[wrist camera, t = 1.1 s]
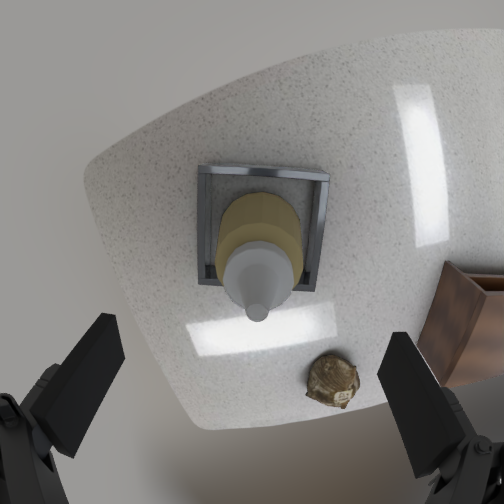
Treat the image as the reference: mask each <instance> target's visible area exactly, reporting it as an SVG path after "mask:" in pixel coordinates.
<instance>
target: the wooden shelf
mask: <svg viewBox="0 0 504 504" xmlns="http://www.w3.org/2000/svg"><path fill="white" fill-rule="evenodd" d="M417 347H418V349H419V350H420V352H421V353H422V355H423V357H424V358H425V360H426V362H427V363H428V365H429V367H430V368H431V370H432V372H433V374H434V375H435V377H436V379H437V380H438V382H439V383H440V385H441V387H447V388H451V387H456V386H461V385H465V384H470V383H473V382H478V381H482V380H486V379H489V378H493V377H497V376H500V375H504V275H488V274H465V273H463V272H462V271H461V270H460V269H459V268H457V267H456V266H455V265H454V264H452V263H451V262H450V261H445V264H444V267H443V271H442V274H441V278H440V281H439V284H438V287H437V291H436V294H435V297H434V300H433V303H432V306H431V309H430V311H429V314H428V317H427V320H426V322H425V325H424V328H423V330H422V333H421V335H420V338H419V340H418V343H417Z"/></svg>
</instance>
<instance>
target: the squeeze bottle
mask: <svg viewBox="0 0 504 504" xmlns="http://www.w3.org/2000/svg"><path fill="white" fill-rule="evenodd" d="M215 267H216V272H217V277H218V279H219V281H220V282H221V284H222V285H223V286H224V288H225V292H226V293H227V295H228V296H229V297H230V299H231V300H232V302H234V303H235V304H237V305H238V306H240V307H241V308H243V309H245V311H246V314H247V317H248V318H249V319H250V320H252V321H255V322H260V321H263V320H264V319H265V318H266V317H267V315H268V313H269V310H271V309H273V308H276V307H278V306H280V305H281V304H282V303H283V302H284V301H285V300H286V299H287V298H288V297H289V296H290V294H291V291H292V289H293V288H294V287H295V286H296V285H297V284H298V282H299V279H300V276H301V274H302V271H303V254H302V239H301V227H300V219H299V218H298V216H297V214H296V212H295V210H294V209H293V207H292V206H291V205H290V204H289V203H287V202H286V201H285V200H284V199H282V198H281V197H280V196H277V195H273V194H270V193H266V192H257V193H250V194H245V195H244V196H242V197H240V198H239V199H237V200H235V201H233V202H232V203H231V205H230V206H229V207H228V209H227V210H226V211H225V213H224V214H223V216H222V220H221V225H220V229H219V235H218V242H217V249H216V256H215Z"/></svg>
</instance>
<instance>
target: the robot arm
mask: <svg viewBox="0 0 504 504" xmlns="http://www.w3.org/2000/svg"><path fill="white" fill-rule="evenodd" d="M124 360H125V356H124V352H123V348H122V344H121V339H120V334H119V330H118V325H117V321H116V316H115V315H113V314H107V313H101V315H100V316H99V317H98V318H97V319H96V321H95V322H94V323H93V324H92V326H91V327H90V328H89V329H88V331H87V332H86V333H85V335H84V336H83V337H82V338H81V340H80V341H79V342H78V343H77V345H76V346H75V347H74V348H73V350H72V351H71V352H70V354H69V355H68V356H67V357H66V359H65V360H64V361H63V363H62V364H61V365H59V364H56V363H55V364H53V365H52V366H51V367H49V368H47V369H46V370H45V372H44V373H43V374H42V376H41V377H40V379H38V381H37V382H36V383H35V385H34V386H33V388H32V389H31V390H30V392H29V393H28V394H27V396H26V397H25V398H24V400H23V401H22V403H21V404H20V406H19V405H18V404H17V402H16V401H15V399H14V398H13V397H12V396H11V395H10V394H7V393H1V394H0V504H69V502H68V500H67V497H66V495H65V492H64V489H63V487H62V484H61V481H60V478H59V475H58V472H57V468H56V465H55V462H54V458H53V455H52V453H51V451H50V449H51V447H52V445H53V446H54V447H55V448H56V450H57V451H58V452H60V453H61V454H64V455H66V456H68V457H71V458H74V456H75V454H76V452H77V450H78V448H79V446H80V444H81V442H82V440H83V438H84V436H85V434H86V432H87V430H88V428H89V426H90V424H91V422H92V420H93V418H94V416H95V414H96V412H97V410H98V408H99V406H100V404H101V402H102V401H103V398H104V397H105V395H106V393H107V391H108V389H109V387H110V385H111V383H112V382H113V380H114V378H115V376H116V374H117V372H118V370H119V369H120V367H121V365H122V364H123V361H124ZM377 375H378V378H379V380H380V383H381V385H382V388H383V390H384V393H385V395H386V398H387V400H388V402H389V405H390V408H391V410H392V413H393V416H394V418H395V421H396V424H397V426H398V429H399V432H400V434H401V437H402V440H403V443H404V446H405V448H406V451H407V454H408V457H409V460H410V463H411V465H412V469H413V472H414V475H415V478H416V479H417V478H420V477H423V476H427V475H430V474H432V473H433V472H434V471H435V470H436V469H437V468H438V467H439V470H440V473H439V474H438V475H437V476H436V477H435V478H434V479H433V480H432V481H431V482H430V483H429V484H428V485H429V486H430V485H432V484H433V483H434V485H433V487H432V489H431V492H430V494H429V496H428V498H427V500H426V502H425V504H504V442H499V443H492V442H491V441H490V440H489V439H488V438H487V437H485V436H481V435H479V436H478V435H477V434H476V432H475V430H474V428H473V426H472V424H471V423H470V421H469V419H468V417H467V415H466V414H465V412H464V411H463V408H462V407H461V405H460V404H459V401H458V400H457V398H456V396H455V394H454V393H453V392H452V391H451V390H449V389H448V388H447V387H441V388H440V387H439V385H438V383H437V381H436V379H435V378H434V376H433V374H432V373H431V371H430V369H429V368H428V366H427V364H426V363H425V361H424V359H423V358H422V356H421V354H420V353H419V351H418V350H417V348H416V346H415V345H414V343H413V342H412V340H411V339H410V337H409V335H408V334H407V332H393V333H392V336H391V339H390V342H389V345H388V347H387V350H386V353H385V355H384V358H383V360H382V363H381V365H380V368H379V370H378V373H377ZM500 479H501V484H500Z"/></svg>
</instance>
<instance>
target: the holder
mask: <svg viewBox="0 0 504 504" xmlns="http://www.w3.org/2000/svg"><path fill="white" fill-rule="evenodd" d="M212 174H229V175H250V176H267V177H281V178H293V179H305V180H315V187H314V197H313V207H312V216H311V225H310V233H309V242H308V250H307V258H306V265H305V271H302V274H301V276H300V279H299V282H298V284H297V285H296V286H295V287H294V288H293V289H292V291H310V292H315V287H316V281H317V275H318V268H319V261H320V255H321V248H322V240H323V233H324V225H325V217H326V209H327V200H328V191H329V181H330V174H329V173H327V172H325V171H323V170H315V169H305V168H294V167H282V166H268V165H251V164H230V163H204V164H201V165H198V194H197V249H198V284H199V285H212V286H223V285H222V284H221V282H220V281H219V279H218V277H217V272H216V267H215V266H211V186H212Z"/></svg>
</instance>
